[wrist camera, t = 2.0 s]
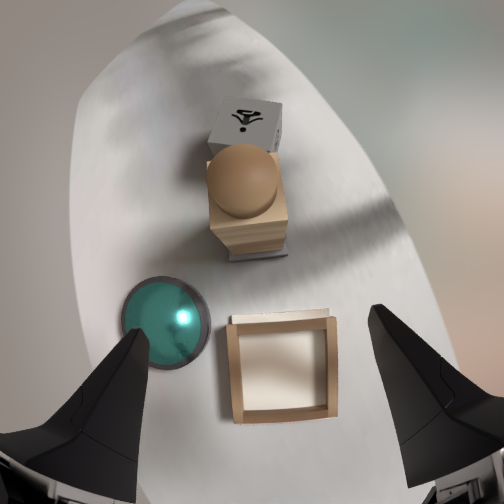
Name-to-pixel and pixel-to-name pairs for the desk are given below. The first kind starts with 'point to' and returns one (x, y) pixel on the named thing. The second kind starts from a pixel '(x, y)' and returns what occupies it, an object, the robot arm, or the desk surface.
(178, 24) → the desk surface
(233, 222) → the stamp
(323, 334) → the frame
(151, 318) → the pad
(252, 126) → the dice cube
